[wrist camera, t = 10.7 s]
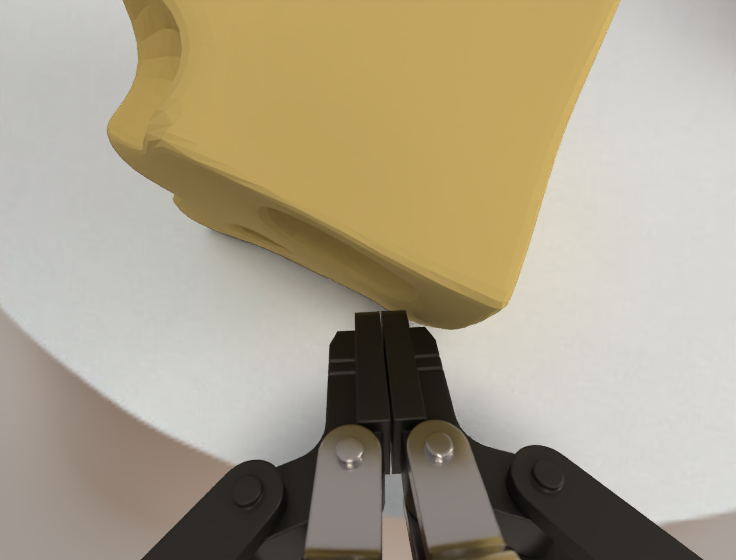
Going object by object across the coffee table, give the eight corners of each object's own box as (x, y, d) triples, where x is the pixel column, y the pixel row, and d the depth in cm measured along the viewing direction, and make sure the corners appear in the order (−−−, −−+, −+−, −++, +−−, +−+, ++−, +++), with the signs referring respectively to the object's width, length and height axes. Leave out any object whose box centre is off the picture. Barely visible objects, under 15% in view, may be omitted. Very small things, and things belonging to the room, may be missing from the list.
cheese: (205, 229, 17) (-23, 77, 7) (317, 32, 18) (263, -330, 8) (420, 335, 16) (512, 336, 6) (517, 123, 18) (718, -145, 8)
